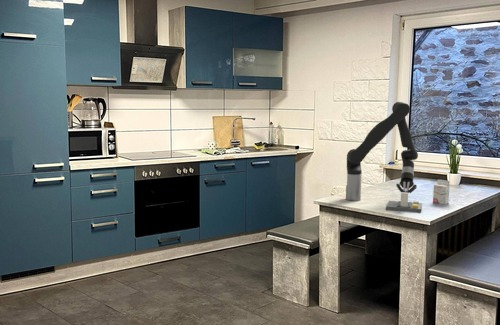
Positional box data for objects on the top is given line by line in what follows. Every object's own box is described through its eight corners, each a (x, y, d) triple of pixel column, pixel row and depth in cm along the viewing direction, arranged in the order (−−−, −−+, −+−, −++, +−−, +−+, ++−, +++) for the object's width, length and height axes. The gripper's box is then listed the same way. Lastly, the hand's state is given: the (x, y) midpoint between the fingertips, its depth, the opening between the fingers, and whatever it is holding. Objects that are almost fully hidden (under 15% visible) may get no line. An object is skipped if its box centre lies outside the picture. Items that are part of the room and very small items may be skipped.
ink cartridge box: (432, 202, 324) (433, 180, 322) (435, 201, 328) (437, 179, 326) (445, 204, 318) (446, 181, 316) (448, 203, 322) (450, 180, 320)
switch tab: (400, 206, 302) (400, 193, 301) (400, 205, 306) (401, 192, 305) (407, 206, 301) (407, 193, 300) (407, 205, 304) (408, 192, 303)
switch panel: (386, 209, 303) (386, 204, 302) (388, 203, 320) (388, 198, 319) (421, 212, 296) (421, 206, 296) (421, 206, 313) (422, 200, 312)
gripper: (396, 171, 322) (394, 193, 312) (418, 172, 317) (416, 194, 308) (396, 177, 328) (394, 199, 318) (418, 179, 323) (416, 201, 313)
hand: (405, 197), depth 313 cm, fingers closed
